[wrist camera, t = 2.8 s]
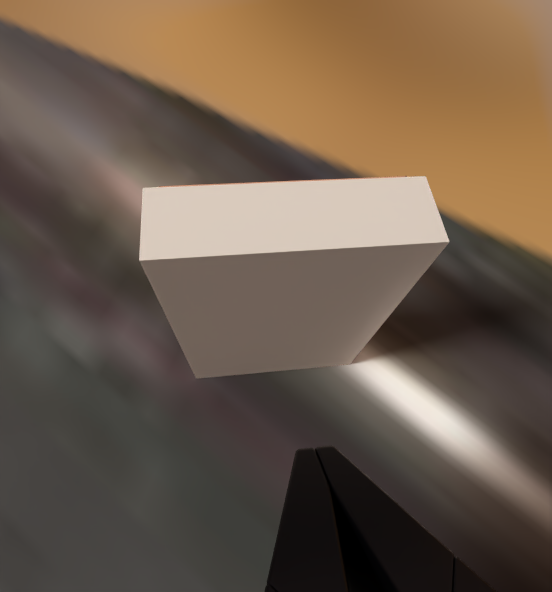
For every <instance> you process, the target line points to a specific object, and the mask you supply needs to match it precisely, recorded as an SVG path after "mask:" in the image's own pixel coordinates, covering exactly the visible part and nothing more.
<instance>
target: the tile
mask: <svg viewBox="0 0 552 592" xmlns="http://www.w3.org/2000/svg"><path fill="white" fill-rule="evenodd" d="M448 243H449V239H448V237H447V234H446V231H445V228H444V226H443V223H442V220H441V217H440V214H439V212H438V209H437V206H436V203H435V201H434V198H433V195H432V193H431V190H430V187H429V184H428V182H427V179H426V176H419V177H407V176H399V177H375V178H351V179H327V180H303V181H278V182H254V183H230V184H206V185H182V186H159V187H155V188H143V196H142V216H141V236H140V256H139V261H140V263H141V265H142V267H143V269H144V271H145V273H146V275H147V278H148V280H149V282H150V284H151V286H152V288H153V290H154V292H155V294H156V296H157V298H158V300H159V302H160V305H161V307H162V309H163V311H164V313H165V315H166V317H167V319H168V321H169V323H170V325H171V327H172V329H173V331H174V334H175V336H176V338H177V340H178V342H179V344H180V346H181V348H182V350H183V352H184V354H185V356H186V358H187V361H188V363H189V365H190V367H191V369H192V371H193V373H194V375H195V377H196V379H197V378H208V377H219V376H230V375H241V374H251V373H262V372H273V371H284V370H295V369H306V368H316V367H327V366H338V365H349V364H351V362H352V361H353V360H354V359H355V357H356V356H357V355H358V354H359V353H360V351H361V350H362V349H363V348H364V346H365V345H366V344H367V343H368V341H369V340H370V339H371V338H372V337H373V335H374V334H375V333H376V332H377V330H378V329H379V328H380V327H381V325H382V324H383V323H384V322H385V321H386V319H387V318H388V317H389V316H390V314H391V313H392V312H393V311H394V309H395V308H396V307H397V306H398V305H399V303H400V302H401V301H402V300H403V298H404V297H405V296H406V295H407V293H408V292H409V291H410V290H411V289H412V287H413V286H414V285H415V284H416V282H417V281H418V280H419V279H420V277H421V276H422V275H423V274H424V272H425V271H426V270H427V269H428V268H429V266H430V265H431V264H432V263H433V261H434V260H435V259H436V258H437V256H438V255H439V254H440V253H441V252H442V250H443V249H444V248H445V247H446V245H447V244H448Z"/></svg>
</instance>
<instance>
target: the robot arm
mask: <svg viewBox="0 0 552 592" xmlns="http://www.w3.org/2000/svg"><path fill="white" fill-rule="evenodd" d="M265 592H497V591H496V590H495V589H493V588H492V587H491V586H490V585H489V584H488V583H486V582H485V581H484V580H483V579H482V578H481V577H479V576H478V575H477V574H476V573H475V572H474V571H473V570H471V569H470V568H469V567H468V566H467V565H466V564H465V563H464V562H463V561H461V560H460V559H459V558H458V557H455V558H454V554H453V553H452V552H451V551H450V550H449V549H448V548H447V547H446V546H444V545H443V544H442V543H441V542H440V541H439V540H438V539H437V538H436V537H434V536H433V535H432V534H431V533H430V532H429V531H428V530H427V529H426V528H424V527H423V526H422V525H421V524H420V523H419V522H418V521H417V520H415V519H414V518H413V517H412V516H411V515H410V514H409V513H408V512H407V511H405V510H404V509H403V508H402V507H401V506H400V505H399V504H398V503H397V502H395V501H394V500H393V499H392V498H391V497H390V496H389V495H388V494H386V493H385V492H384V491H383V490H382V489H381V488H380V487H379V486H378V485H376V484H375V483H374V482H373V481H372V480H371V479H370V478H369V477H368V476H366V475H365V474H364V473H363V472H362V471H361V470H360V469H359V468H358V467H356V466H355V465H354V464H353V463H352V462H351V461H350V460H349V459H347V458H346V457H345V456H344V455H343V454H342V453H341V452H340V451H339V450H337V449H336V448H335V447H334V446H322V447H317V448H316V449H314V448H304V449H298V450H297V451H296V453H295V458H294V462H293V467H292V471H291V476H290V480H289V485H288V489H287V494H286V498H285V503H284V507H283V512H282V516H281V521H280V525H279V530H278V534H277V539H276V543H275V548H274V552H273V557H272V561H271V566H270V570H269V575H268V579H267V586H266V587H265Z"/></svg>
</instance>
